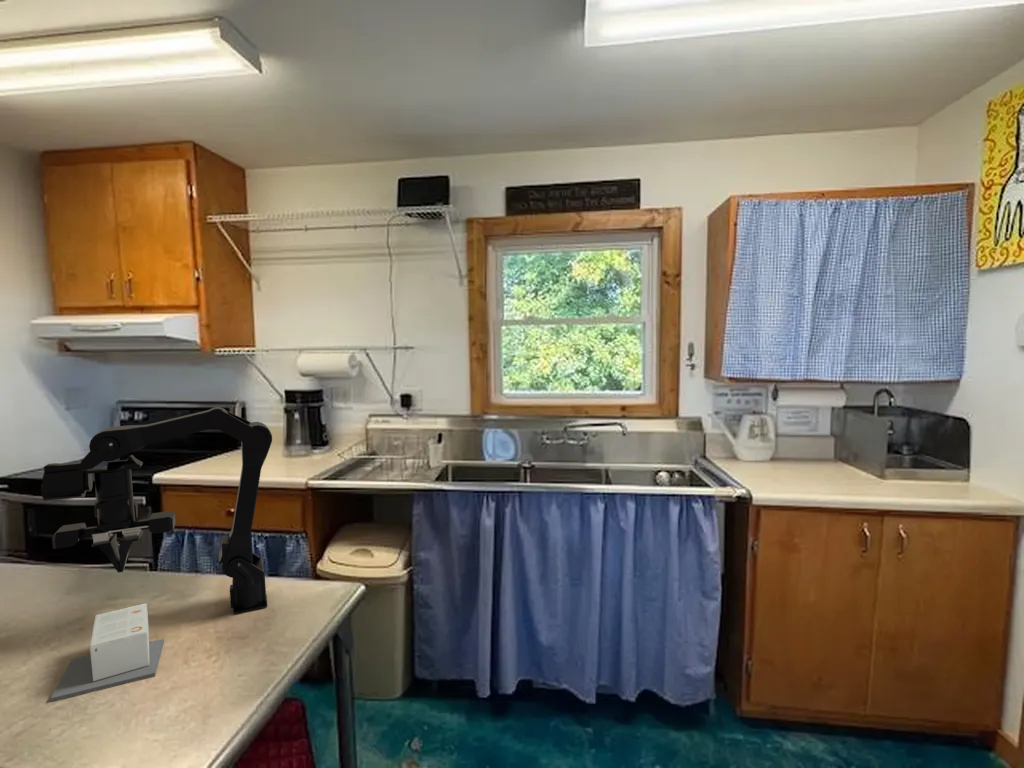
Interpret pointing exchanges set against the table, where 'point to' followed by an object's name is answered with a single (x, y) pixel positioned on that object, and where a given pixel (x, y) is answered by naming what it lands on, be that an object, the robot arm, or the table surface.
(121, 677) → the mat
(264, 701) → the table surface
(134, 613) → the small box
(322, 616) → the table surface
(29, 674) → the table surface
